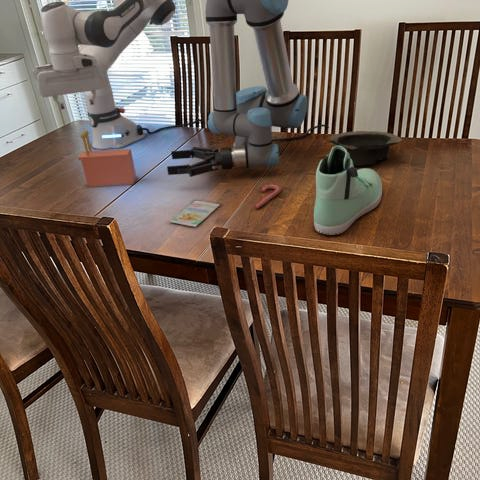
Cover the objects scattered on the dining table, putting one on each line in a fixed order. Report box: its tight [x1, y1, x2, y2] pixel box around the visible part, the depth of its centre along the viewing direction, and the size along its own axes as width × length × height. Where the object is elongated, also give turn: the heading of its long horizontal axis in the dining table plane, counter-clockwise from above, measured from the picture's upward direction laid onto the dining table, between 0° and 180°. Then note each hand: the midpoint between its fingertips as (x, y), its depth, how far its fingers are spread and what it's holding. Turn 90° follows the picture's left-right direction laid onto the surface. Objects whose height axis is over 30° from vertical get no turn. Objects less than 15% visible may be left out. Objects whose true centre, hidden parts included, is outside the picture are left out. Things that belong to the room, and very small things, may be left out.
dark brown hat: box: [328, 130, 403, 167], centre depth 168 cm, size 25×25×9 cm
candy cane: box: [254, 184, 282, 209], centre depth 148 cm, size 6×15×2 cm, turn 145°
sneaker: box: [313, 145, 383, 236], centre depth 133 cm, size 14×35×20 cm, turn 152°
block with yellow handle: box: [77, 130, 132, 161], centre depth 160 cm, size 17×5×8 cm, turn 89°
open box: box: [80, 152, 137, 188], centre depth 165 cm, size 16×5×10 cm, turn 89°
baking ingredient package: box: [169, 199, 221, 228], centre depth 142 cm, size 9×1×15 cm
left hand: (77, 106), depth 154 cm, fingers open, 8 cm apart
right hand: (169, 162), depth 161 cm, fingers open, 13 cm apart
